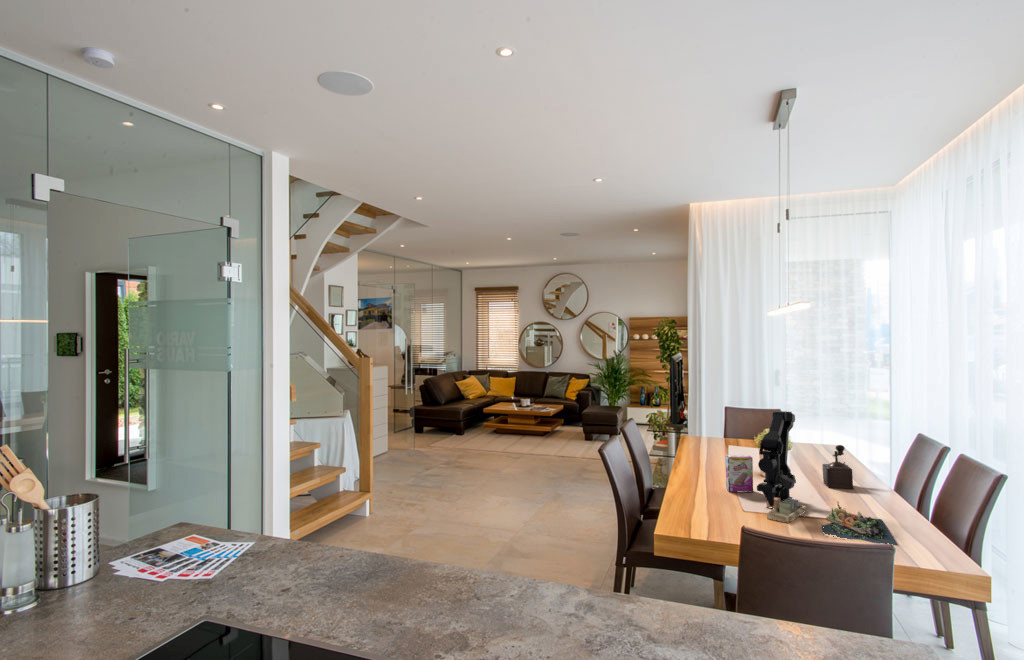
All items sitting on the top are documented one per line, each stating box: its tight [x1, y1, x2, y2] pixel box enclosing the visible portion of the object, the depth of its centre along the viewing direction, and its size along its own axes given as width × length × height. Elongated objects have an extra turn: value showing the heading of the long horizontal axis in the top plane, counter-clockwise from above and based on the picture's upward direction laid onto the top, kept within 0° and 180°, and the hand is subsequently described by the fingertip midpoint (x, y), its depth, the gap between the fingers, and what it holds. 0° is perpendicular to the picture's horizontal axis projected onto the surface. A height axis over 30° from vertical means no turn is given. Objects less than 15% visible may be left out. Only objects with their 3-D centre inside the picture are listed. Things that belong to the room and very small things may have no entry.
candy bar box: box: [724, 454, 754, 493], centre depth 252 cm, size 11×5×16 cm, turn 84°
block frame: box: [766, 498, 807, 524], centre depth 217 cm, size 19×8×5 cm, turn 133°
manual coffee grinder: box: [821, 444, 854, 490], centre depth 259 cm, size 16×11×18 cm
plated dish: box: [820, 500, 899, 547], centre depth 201 cm, size 35×28×7 cm
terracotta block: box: [766, 497, 781, 508], centre depth 227 cm, size 4×4×4 cm
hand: (773, 505), depth 227 cm, fingers closed on terracotta block, 4 cm apart
